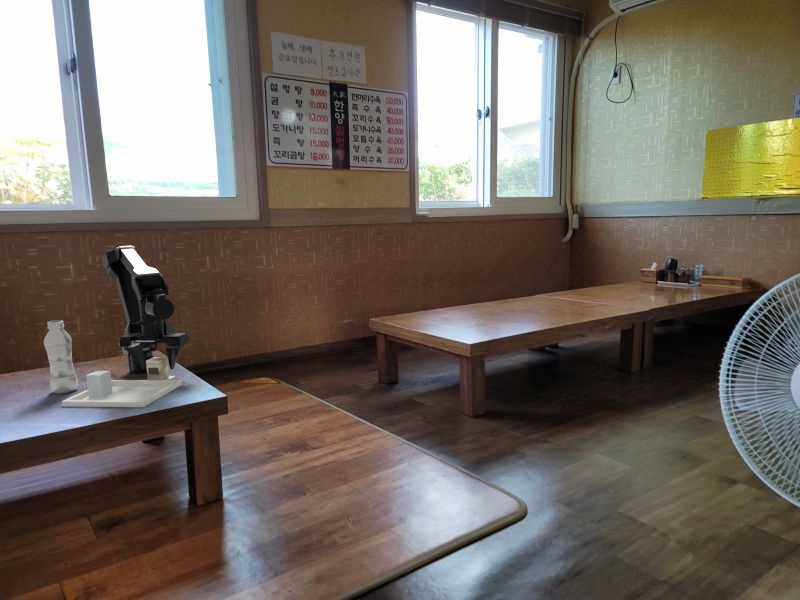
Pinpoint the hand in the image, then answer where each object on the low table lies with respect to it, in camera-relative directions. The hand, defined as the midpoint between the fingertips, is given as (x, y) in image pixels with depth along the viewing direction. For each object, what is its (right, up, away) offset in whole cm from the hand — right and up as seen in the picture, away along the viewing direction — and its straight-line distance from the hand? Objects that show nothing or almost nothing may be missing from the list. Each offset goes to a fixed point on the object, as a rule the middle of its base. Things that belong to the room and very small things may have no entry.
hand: (157, 369), depth 159 cm
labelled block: (0, -3, 0) cm, 3 cm away
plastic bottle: (-22, -6, -7) cm, 24 cm away
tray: (-3, -6, -13) cm, 14 cm away
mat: (0, -3, 0) cm, 4 cm away
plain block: (-10, -5, -12) cm, 16 cm away
